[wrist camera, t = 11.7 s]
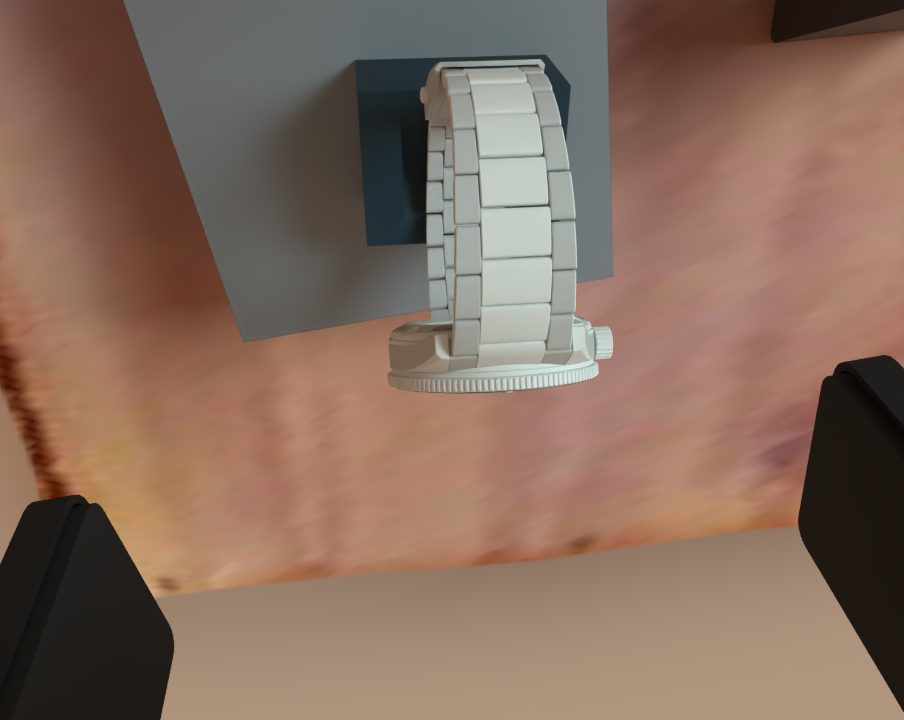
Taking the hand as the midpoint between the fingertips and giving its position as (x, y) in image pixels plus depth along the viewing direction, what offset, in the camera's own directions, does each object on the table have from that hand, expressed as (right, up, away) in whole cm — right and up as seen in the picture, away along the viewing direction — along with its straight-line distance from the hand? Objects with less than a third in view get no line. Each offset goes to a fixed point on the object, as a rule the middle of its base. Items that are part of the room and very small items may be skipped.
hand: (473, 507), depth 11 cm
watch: (0, +9, +14) cm, 16 cm away
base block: (-3, +12, +18) cm, 22 cm away
